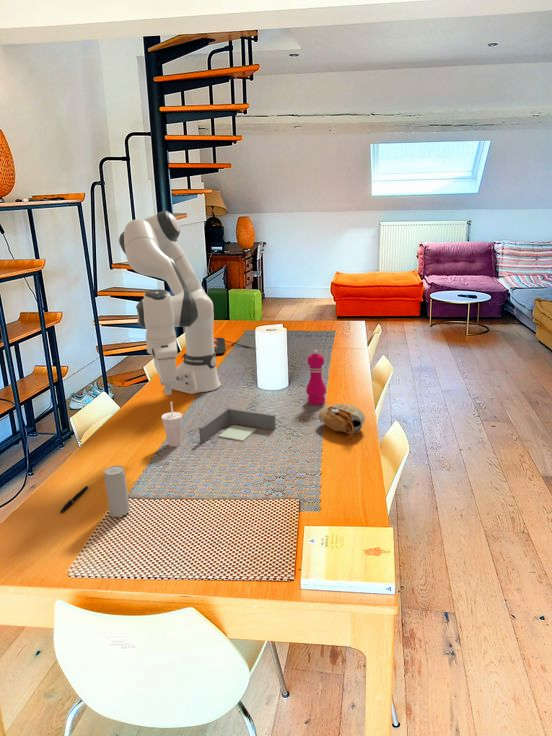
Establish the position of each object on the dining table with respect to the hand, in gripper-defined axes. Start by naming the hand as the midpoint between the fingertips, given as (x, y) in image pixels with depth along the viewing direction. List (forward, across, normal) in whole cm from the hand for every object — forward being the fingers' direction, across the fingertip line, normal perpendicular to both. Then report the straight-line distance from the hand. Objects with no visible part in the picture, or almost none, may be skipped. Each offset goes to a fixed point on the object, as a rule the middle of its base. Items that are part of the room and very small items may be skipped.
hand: (165, 389), depth 170 cm
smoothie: (+19, 0, +1) cm, 19 cm away
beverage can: (+19, +34, -18) cm, 43 cm away
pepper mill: (+18, -15, +56) cm, 61 cm away
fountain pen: (+19, +23, -28) cm, 41 cm away
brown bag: (+18, +13, +53) cm, 58 cm away
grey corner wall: (+18, +2, +22) cm, 28 cm away
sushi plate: (+19, -102, +44) cm, 112 cm away
